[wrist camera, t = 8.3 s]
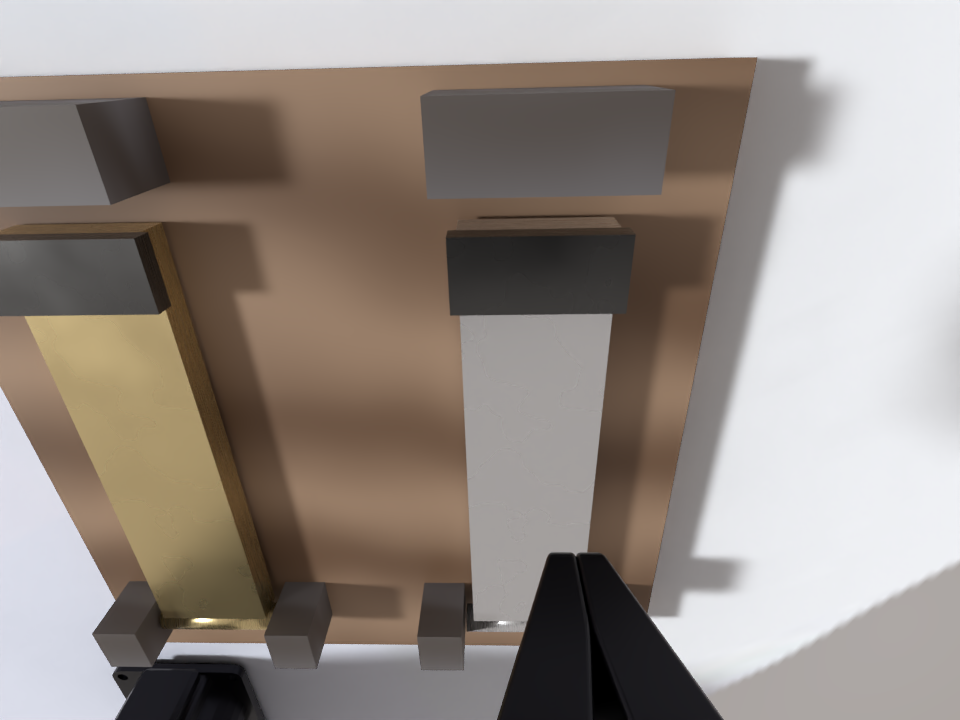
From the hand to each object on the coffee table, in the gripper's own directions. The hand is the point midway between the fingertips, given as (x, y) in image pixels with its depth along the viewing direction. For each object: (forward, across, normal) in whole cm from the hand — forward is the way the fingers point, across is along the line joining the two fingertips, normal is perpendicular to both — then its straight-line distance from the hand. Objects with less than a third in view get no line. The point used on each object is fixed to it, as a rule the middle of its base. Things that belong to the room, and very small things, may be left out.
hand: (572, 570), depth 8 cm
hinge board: (+10, +6, +4) cm, 13 cm away
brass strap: (+8, +12, +5) cm, 15 cm away
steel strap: (+8, 0, +5) cm, 10 cm away
